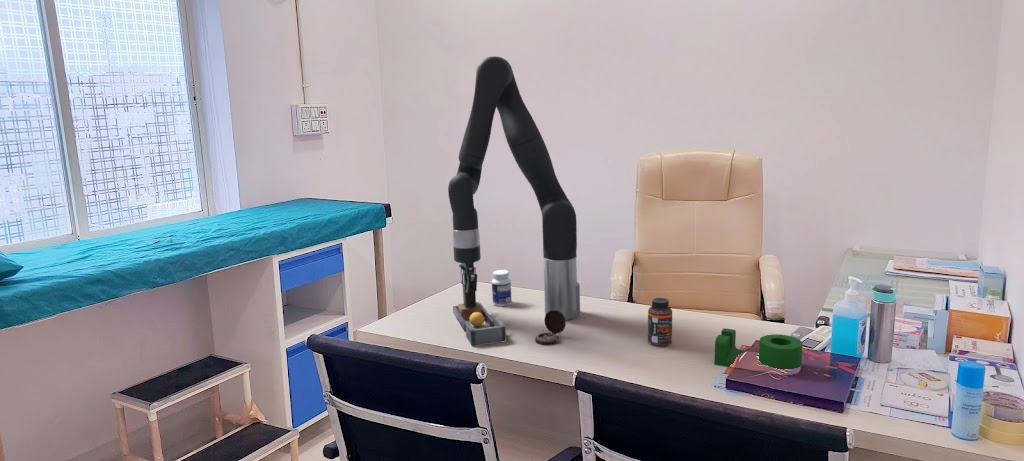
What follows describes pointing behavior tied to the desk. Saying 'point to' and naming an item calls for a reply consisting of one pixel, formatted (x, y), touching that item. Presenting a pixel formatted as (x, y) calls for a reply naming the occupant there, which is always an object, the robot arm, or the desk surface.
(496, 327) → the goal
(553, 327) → the compass
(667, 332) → the supplement bottle
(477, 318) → the ball
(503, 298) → the pill bottle
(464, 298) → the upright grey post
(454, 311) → the track
